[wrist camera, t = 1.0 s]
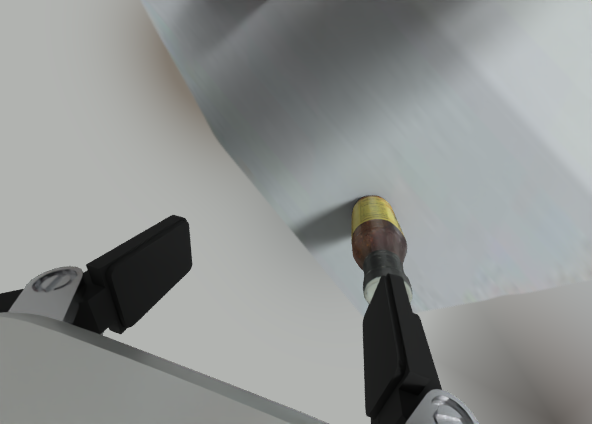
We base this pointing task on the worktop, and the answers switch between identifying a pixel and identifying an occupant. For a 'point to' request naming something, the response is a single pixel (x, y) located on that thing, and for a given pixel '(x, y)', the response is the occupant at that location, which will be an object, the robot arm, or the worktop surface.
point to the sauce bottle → (377, 243)
